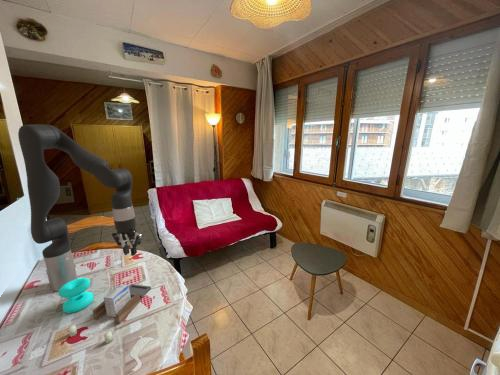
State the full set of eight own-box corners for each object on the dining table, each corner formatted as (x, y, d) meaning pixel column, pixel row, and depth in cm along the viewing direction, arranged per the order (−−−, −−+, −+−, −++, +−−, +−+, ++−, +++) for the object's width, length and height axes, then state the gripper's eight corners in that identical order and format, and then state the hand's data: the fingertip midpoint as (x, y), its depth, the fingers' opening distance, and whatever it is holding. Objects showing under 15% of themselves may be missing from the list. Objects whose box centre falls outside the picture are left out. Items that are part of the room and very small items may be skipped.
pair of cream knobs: (68, 336, 70) (66, 329, 70) (74, 331, 72) (72, 324, 72) (109, 344, 67) (107, 337, 66) (114, 338, 69) (112, 331, 68)
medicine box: (116, 317, 77) (112, 298, 76) (106, 316, 78) (102, 297, 76) (132, 302, 85) (129, 284, 83) (123, 300, 86) (119, 283, 84)
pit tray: (122, 295, 89) (121, 293, 88) (132, 286, 95) (131, 284, 94) (141, 298, 87) (141, 296, 87) (150, 288, 93) (150, 286, 92)
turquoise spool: (52, 296, 76) (64, 279, 85) (58, 317, 78) (70, 299, 87) (84, 288, 79) (93, 274, 88) (89, 310, 81) (97, 293, 90)
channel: (94, 319, 77) (92, 310, 76) (117, 297, 87) (116, 290, 87) (120, 323, 75) (118, 314, 74) (140, 301, 85) (139, 293, 84)
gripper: (102, 219, 80) (109, 257, 84) (132, 221, 78) (138, 260, 82) (117, 213, 88) (123, 248, 91) (145, 214, 85) (150, 251, 89)
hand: (130, 254), depth 87 cm, fingers open, 3 cm apart
